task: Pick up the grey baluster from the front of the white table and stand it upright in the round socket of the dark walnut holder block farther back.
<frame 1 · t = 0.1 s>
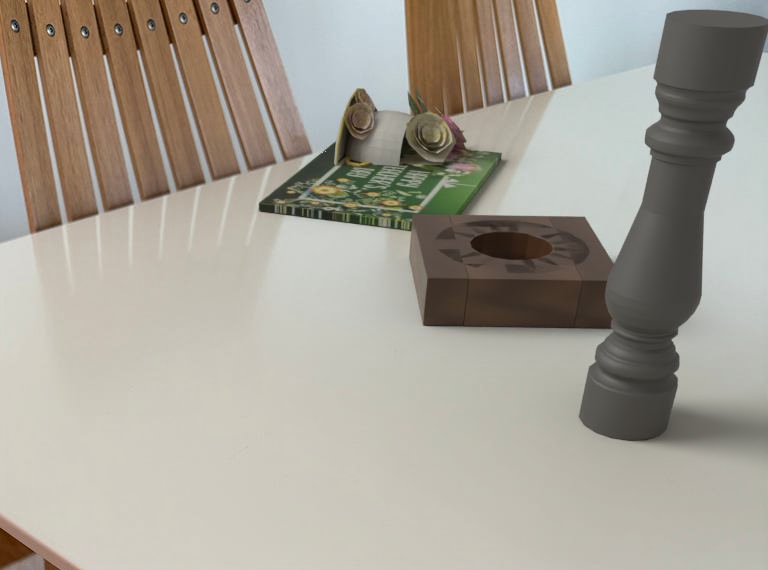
grey baluster: (622, 421, 75), on the table
decorative card: (392, 180, 119), on the table
holder: (504, 290, 93), on the table
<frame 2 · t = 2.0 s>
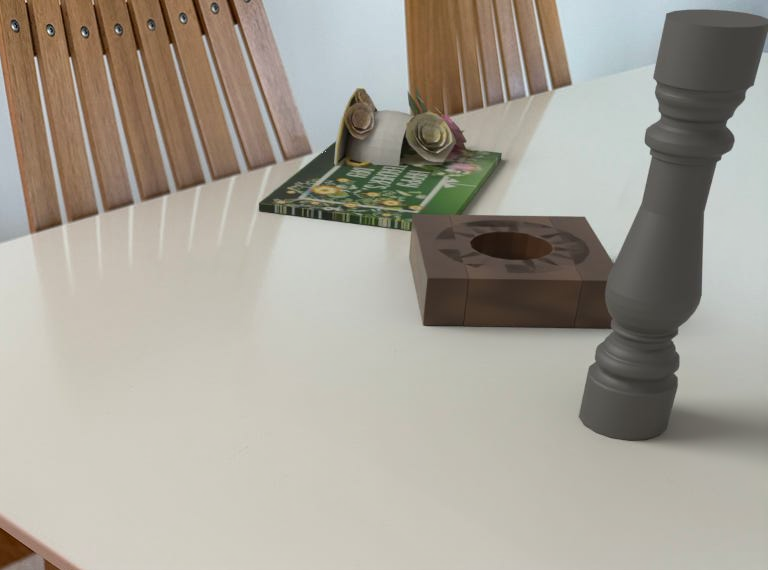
nothing on the table moved.
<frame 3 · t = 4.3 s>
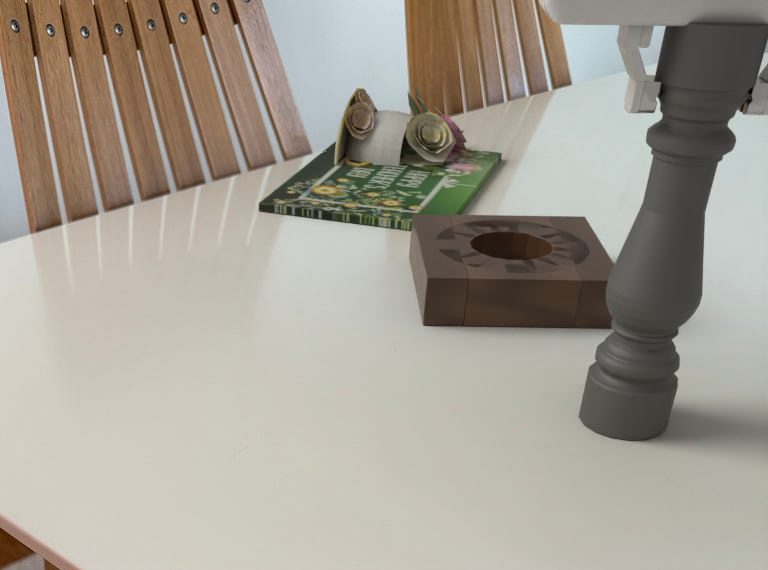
hand: (695, 112, 62), 20 cm above the table, tool pointing down, fingers closed on grey baluster, 5 cm apart
grey baluster: (621, 421, 75), on the table, touching gripper
everything else where it was.
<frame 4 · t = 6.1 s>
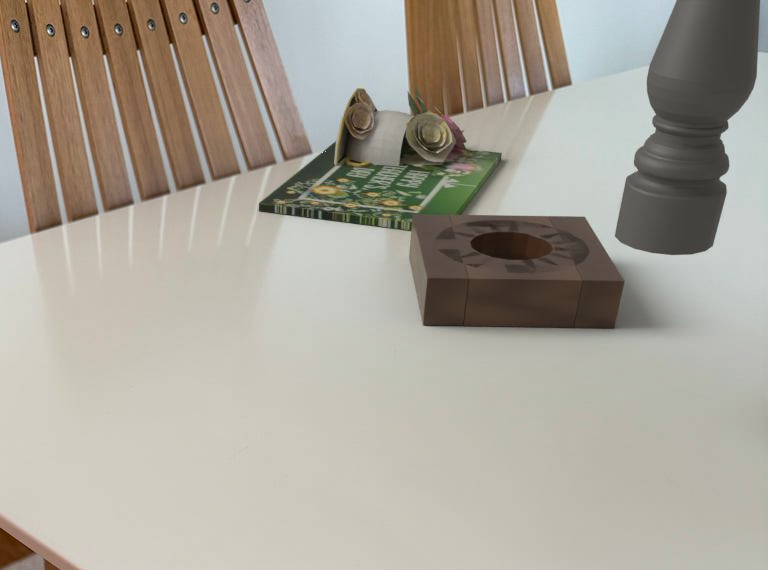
grey baluster: (662, 241, 67), point 12 cm above the table, touching gripper
everything else where it was.
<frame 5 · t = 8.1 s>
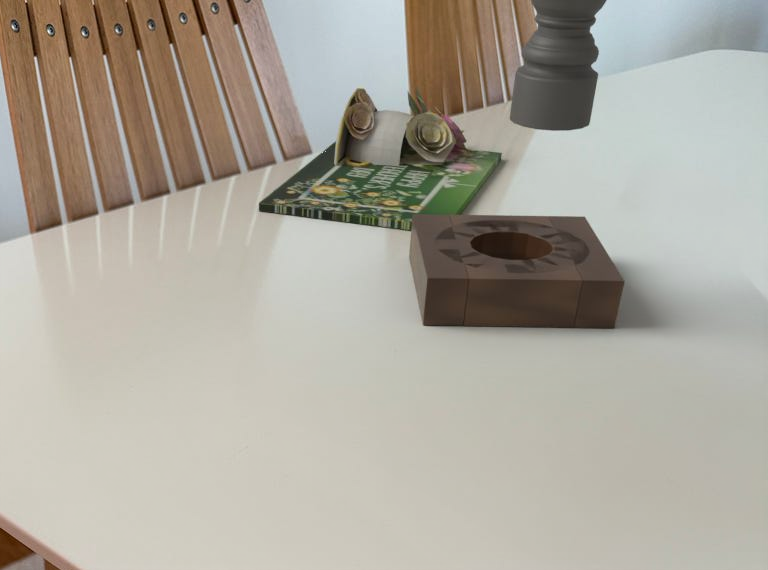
grey baluster: (549, 123, 81), point 15 cm above the table, touching gripper
everything else where it was.
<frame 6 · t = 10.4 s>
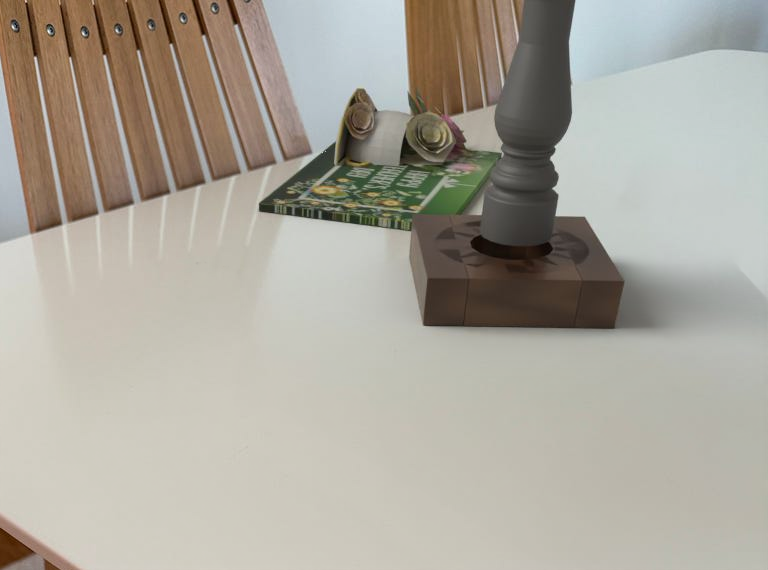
grey baluster: (515, 236, 90), point 5 cm above the table, touching gripper
everything else where it was.
when the fingers open (20 cm above the table, at t = 12.3 s): grey baluster stays where it is, resting in holder.
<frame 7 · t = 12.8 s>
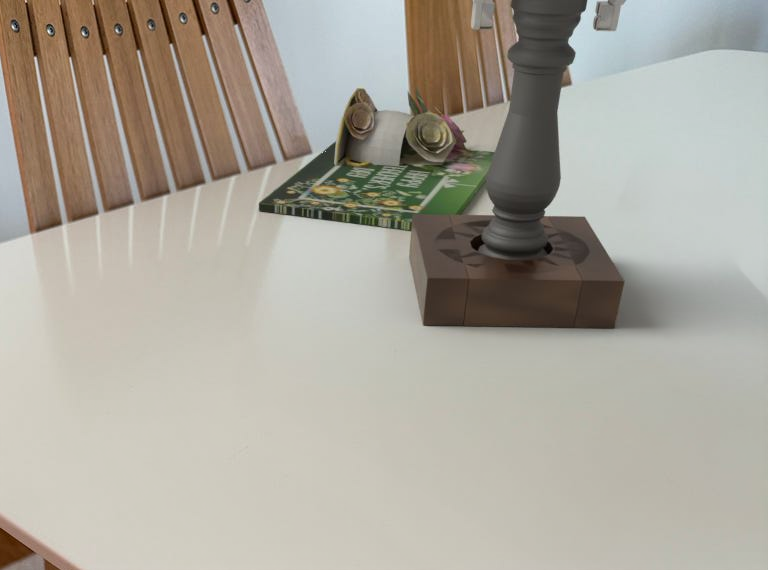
hand: (542, 29, 80), 20 cm above the table, tool pointing down, fingers open, 8 cm apart
grey baluster: (506, 292, 93), resting in holder
everything else where it was.
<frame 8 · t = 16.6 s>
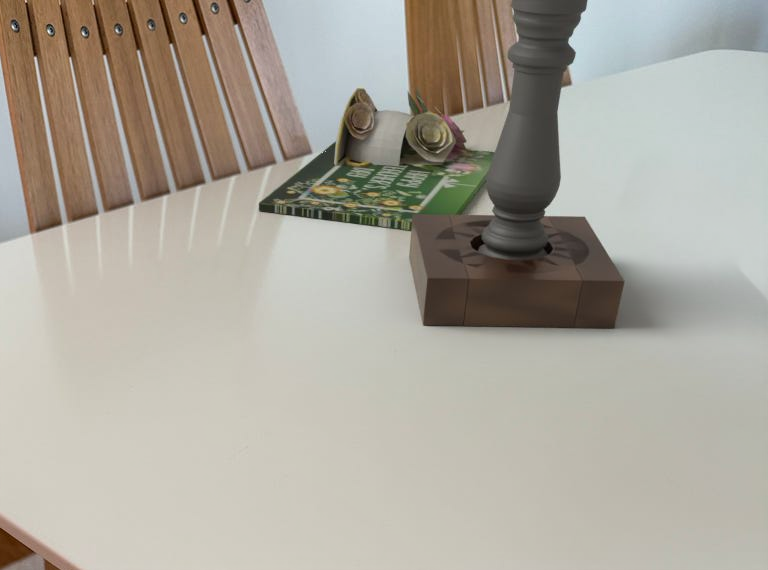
nothing on the table moved.
at the end: grey baluster 0.2 cm off-centre in the holder, point 0.0 cm above the holder's base; grey baluster tilted 0°; the gripper is holding nothing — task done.
